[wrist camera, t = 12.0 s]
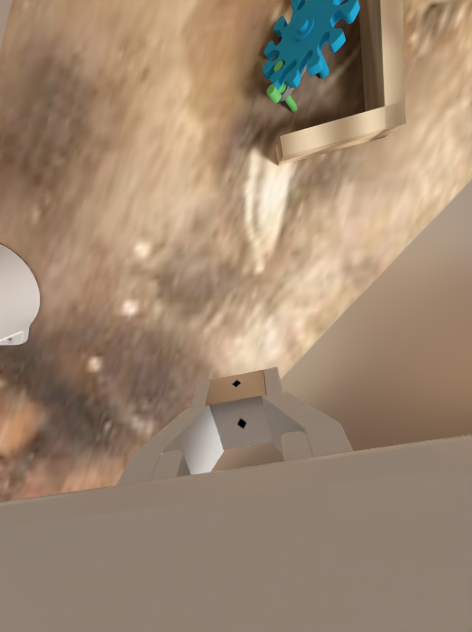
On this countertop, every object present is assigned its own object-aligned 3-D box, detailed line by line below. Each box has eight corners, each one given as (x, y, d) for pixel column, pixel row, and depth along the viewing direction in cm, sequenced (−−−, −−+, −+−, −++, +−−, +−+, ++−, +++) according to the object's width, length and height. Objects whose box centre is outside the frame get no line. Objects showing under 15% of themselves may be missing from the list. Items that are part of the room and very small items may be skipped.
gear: (306, -42, 25) (384, -42, 20) (328, 17, 30) (397, 30, 25) (239, 77, 30) (288, 102, 25) (267, 113, 34) (314, 140, 29)
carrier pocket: (278, 165, 33) (283, 156, 29) (243, -48, 27) (243, -100, 22) (383, 137, 31) (405, 122, 27) (373, -95, 25) (399, -160, 21)
